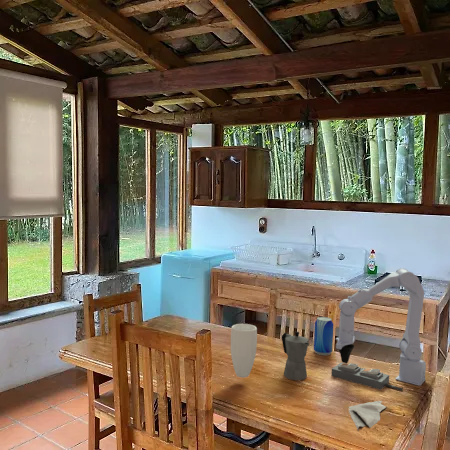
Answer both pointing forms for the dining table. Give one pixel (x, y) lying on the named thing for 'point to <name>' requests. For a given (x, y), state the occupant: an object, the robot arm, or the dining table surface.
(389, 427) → the dining table surface
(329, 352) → the beer can
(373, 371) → the rocker inner
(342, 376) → the power strip
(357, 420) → the cloth
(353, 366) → the rocker outer
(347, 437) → the dining table surface
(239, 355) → the cup
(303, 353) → the coffeepot
